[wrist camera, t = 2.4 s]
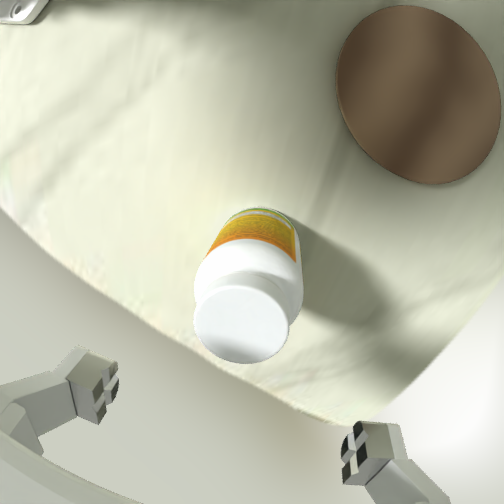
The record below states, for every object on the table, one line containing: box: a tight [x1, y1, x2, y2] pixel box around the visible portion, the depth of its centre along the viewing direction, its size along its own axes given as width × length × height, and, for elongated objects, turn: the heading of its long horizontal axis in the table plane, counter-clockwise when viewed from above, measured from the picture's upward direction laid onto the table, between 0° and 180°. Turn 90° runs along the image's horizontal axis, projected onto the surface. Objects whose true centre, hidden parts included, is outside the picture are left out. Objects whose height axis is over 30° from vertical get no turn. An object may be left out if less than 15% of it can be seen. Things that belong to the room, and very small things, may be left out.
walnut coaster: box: [336, 6, 501, 184], centre depth 16 cm, size 12×12×1 cm
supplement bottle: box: [194, 207, 304, 364], centre depth 17 cm, size 5×5×10 cm
